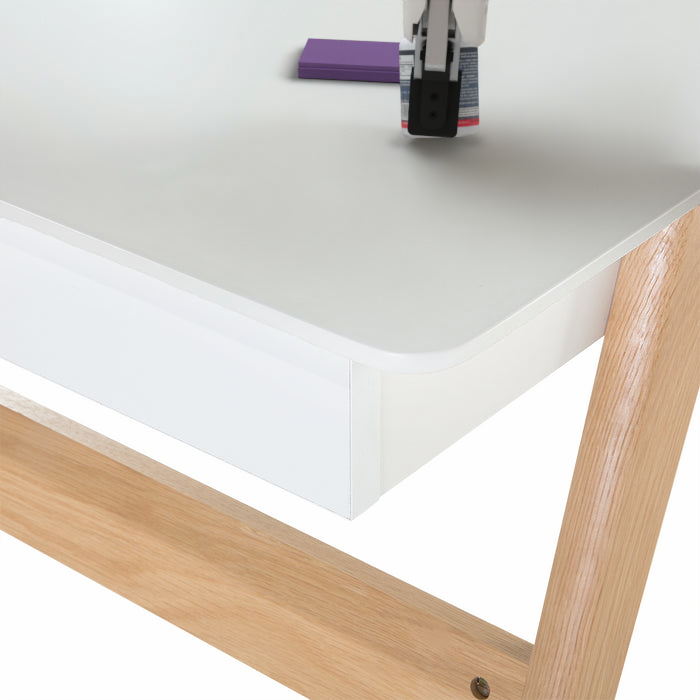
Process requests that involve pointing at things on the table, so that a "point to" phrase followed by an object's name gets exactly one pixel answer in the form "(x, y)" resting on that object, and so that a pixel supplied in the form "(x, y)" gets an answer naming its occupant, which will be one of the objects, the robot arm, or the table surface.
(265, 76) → the table surface
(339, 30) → the table surface
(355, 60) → the purple box
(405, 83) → the pill bottle
